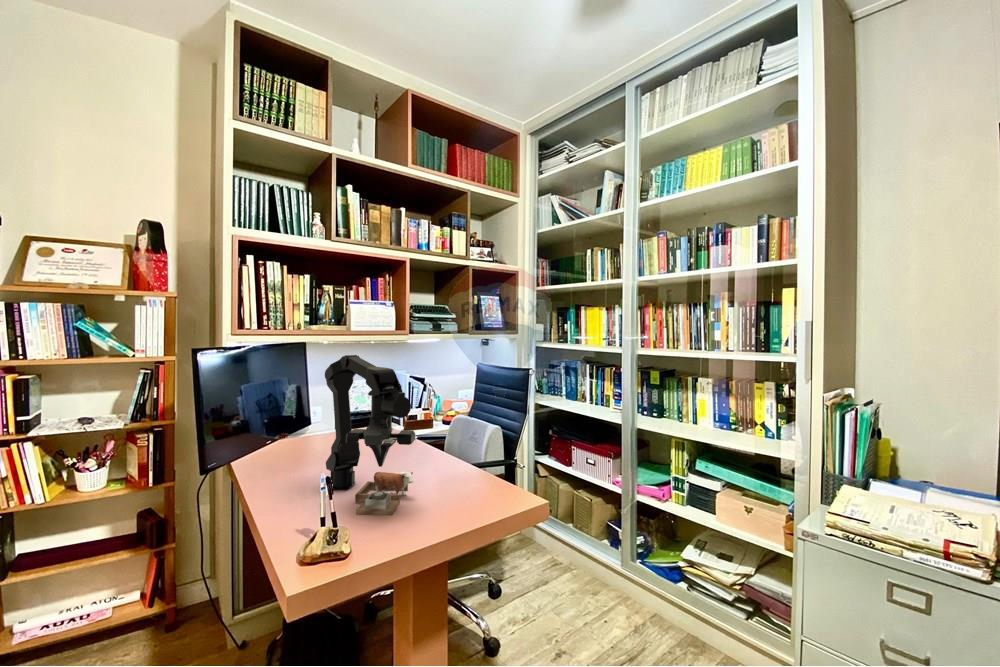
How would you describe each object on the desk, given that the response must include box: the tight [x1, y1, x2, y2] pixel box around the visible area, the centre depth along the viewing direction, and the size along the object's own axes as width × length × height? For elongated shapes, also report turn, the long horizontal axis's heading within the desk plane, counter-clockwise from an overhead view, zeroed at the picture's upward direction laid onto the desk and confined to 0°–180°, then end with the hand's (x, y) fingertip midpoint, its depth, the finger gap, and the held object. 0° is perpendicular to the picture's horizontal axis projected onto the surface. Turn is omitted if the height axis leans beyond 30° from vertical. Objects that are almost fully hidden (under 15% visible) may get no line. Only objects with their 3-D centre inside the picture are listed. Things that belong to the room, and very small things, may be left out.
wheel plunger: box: [372, 491, 386, 500], centre depth 117 cm, size 4×4×3 cm
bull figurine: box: [373, 471, 414, 497], centre depth 126 cm, size 4×13×8 cm, turn 75°
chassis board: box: [354, 480, 409, 516], centre depth 122 cm, size 13×18×4 cm
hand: (380, 466), depth 118 cm, fingers closed
